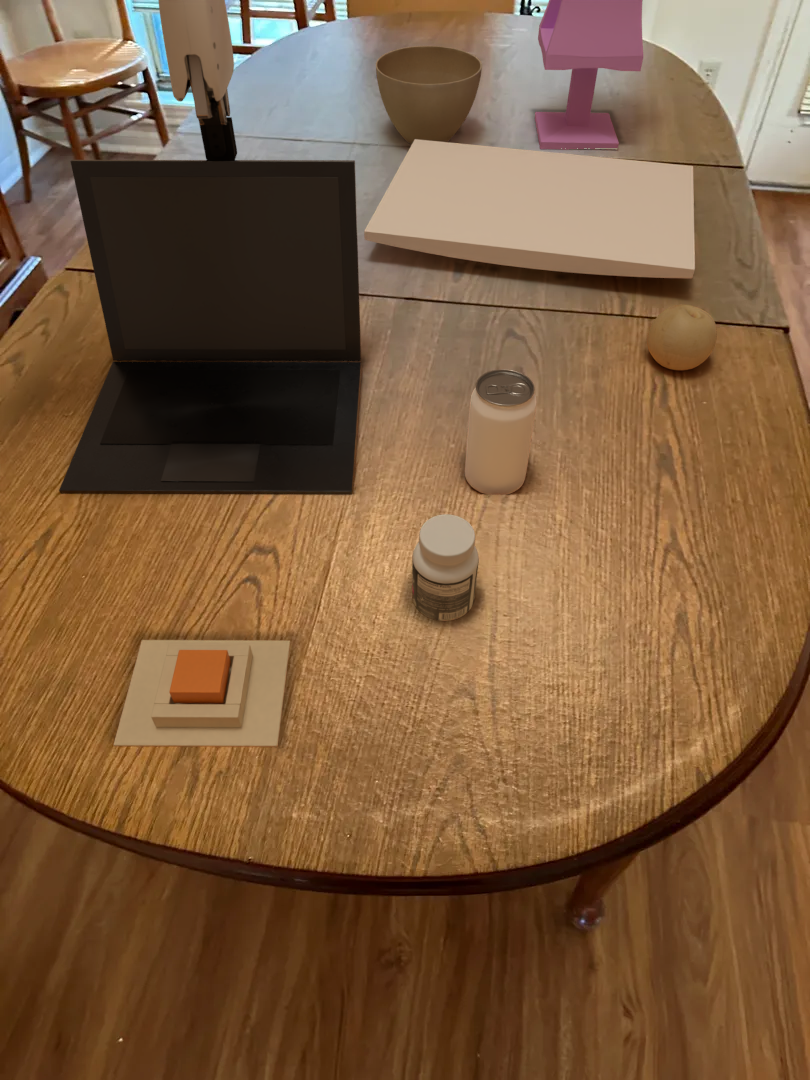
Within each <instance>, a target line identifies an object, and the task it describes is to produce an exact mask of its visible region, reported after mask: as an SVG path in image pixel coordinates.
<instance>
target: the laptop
mask: <svg viewBox="0 0 810 1080" xmlns="http://www.w3.org/2000/svg"><path fill="white" fill-rule="evenodd" d="M362 374H363V373H362V361H113V360H112V362H111V365H110V368H109V370H108V372H107V374H106V377H105V379H104V381H103V383H102V386H101V389H100V391H99V393H98V396H97V398H96V401H95V403H94V406H93V408H92V410H91V413H90V415H89V418H88V420H87V422H86V425H85V427H84V429H83V431H82V434H81V436H80V439H79V440H78V443H77V446H76V449H75V451H74V453H73V456H72V458H71V461H70V463H69V466H68V468H67V470H66V472H65V475H64V477H63V480H62V482H61V484H60V486H59V489H58V491H59V494H61V495H303V496H305V495H306V496H307V495H308V496H309V495H313V496H315V495H319V496H320V495H321V496H322V495H324V496H325V495H328V496H329V495H330V496H331V495H333V496H335V495H337V496H338V495H339V496H340V495H341V496H347V495H349V496H350V495H351V496H352V495H354V490H355V489H354V488H355V477H356V460H357V445H358V444H357V443H358V431H359V419H360V418H359V417H360V405H361V404H360V403H361V388H362V376H363V375H362Z"/></svg>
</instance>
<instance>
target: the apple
mask: <svg viewBox="0 0 810 1080" xmlns="http://www.w3.org/2000/svg"><path fill="white" fill-rule="evenodd" d="M717 329H718V328H717V324H716V322H715V320H714V318H713V317H712V315H710V313H708V312H707V311H705V310H703V309H702V308H700V307H697V306H695V305H692V304H684V303H679V304H675V305H672V306H670V307H667V308H666V309H664V310H663V311H662V312H660V313H659V314H658V315H657V316H656V317H655V319H654V320H653V321H652V322H651V325H650V327H649V329H648V332H647V336H646V345H647V350H648V352H649V354H650V355H651V357H652V358H653V359H654V360H655V362H656V363H657V364H659V365H660V366H662V367H664V368H665V369H669V370H671V371H688V370H692V369H695V368H697V367H698V366H701V364H703V363H704V362H705V361H706V360H708V358H709V356H710V355H712V352H713V350H714V348H715V346H716V343H717V339H718V330H717Z"/></svg>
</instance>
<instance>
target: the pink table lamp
mask: <svg viewBox="0 0 810 1080" xmlns="http://www.w3.org/2000/svg"><path fill="white" fill-rule="evenodd" d="M538 25H539V26H538V33H537V40H538V45H539V47H540V51H541V57H542V63H543V68H544V69H543V70H544V71H570V70H571V74H570V82H569V89H568V95H567V101H566V109H565V111H535V113H534V123H535V122H536V123H535V128H537V129H536V135H537V134H538V135H537V139H538V140H537V141H538V146H539V145H540V146H539V149H540V150H569V149H577V148H578V149H584V148H587V149H588V148H590V149H595V148H618V149H619V145H620V143H619V139H618V137H617V134H616V130H615V128H614V124H613V122H612V118H611V115H610V113H609V112H592V106H593V100H594V94H595V88H596V83H597V77H598V70H599V69H605V70H606V69H607V70H613V71H619V72H641V71H642V67H643V61H644V44H643V43H644V41H643V0H548V2H547V5H546V8H545V10H544V13H543V16H542V18H541V21H540V23H539V24H538ZM561 148H562V149H561ZM565 148H566V149H565Z"/></svg>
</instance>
